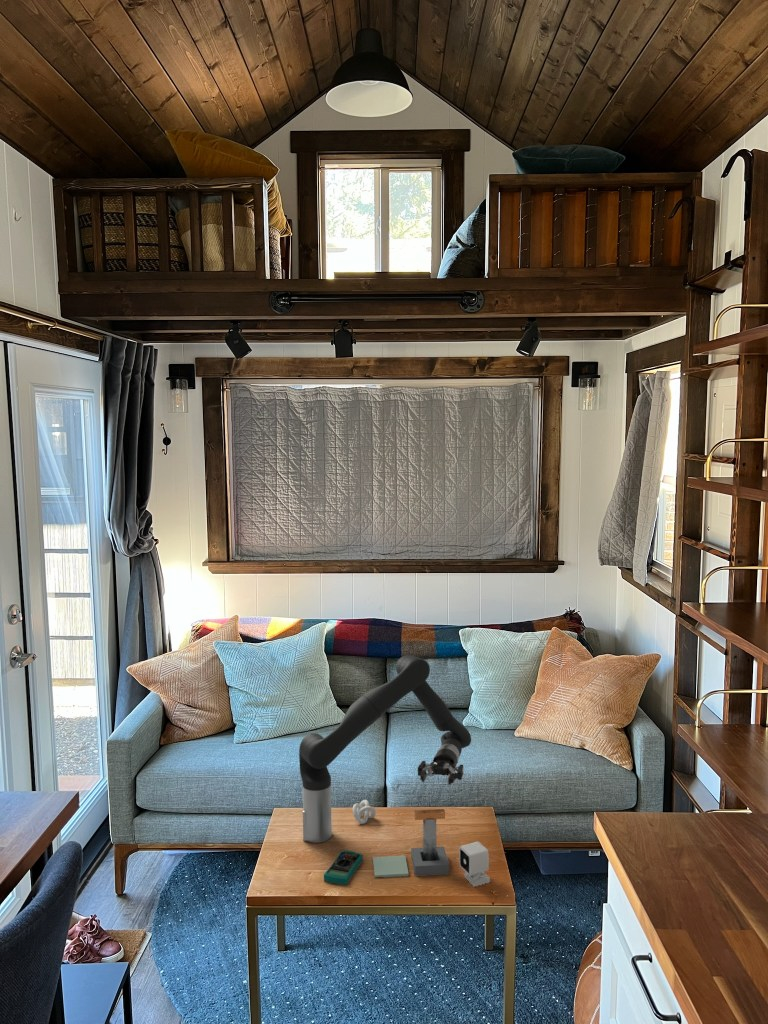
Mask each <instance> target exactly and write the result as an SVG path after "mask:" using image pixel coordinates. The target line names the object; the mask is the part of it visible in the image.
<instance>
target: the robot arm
mask: <svg viewBox="0 0 768 1024" xmlns="http://www.w3.org/2000/svg"><path fill="white" fill-rule="evenodd" d="M430 667H431V666H430V664H429V662H427V661H426V660H425V659H424V658H421V657H418V656H416V655H411V654H410V655H409V654H407V655H403V656H401V657H400V658H398V660H397V662H396V665H395V669H396V674H397V675H396V676H395V677H393V678H392V679H391V680H389V681H388V682H386V683H384V684H381V685H378V686H376V687H374V688H372V689H370V690H368V691H367V692H365V693H363V694H362V696H360V697H359V698H357V700H355V701H353V702H352V704H351V705H350V706H349V708H348V709H347V711H346V712H345V714H344V716H343V718H342V720H341V721H340V723H339V724H338V726H337V727H336V728H334V730H333V731H331V732H329V734H327V735H326V736H325V737H324V736H322V735H321V734H319V733H317V732H316V733H314V732H312V733H309V734H307V735H305V736H304V737H303V738H302V740H301V741H300V744H299V747H298V748H299V751H298V758H299V760H298V762H299V773H300V775H299V776H300V778H301V780H302V781H301V782H302V783H301V784H302V837H303V838H302V841H303V842H304V841H305V842H309V843H324V842H326V841H328V840H330V839H331V838H332V835H333V833H332V832H333V827H332V826H333V825H332V824H333V823H332V776H331V774H330V772H329V769H328V766H329V765H330V764H331V763H332V762H333V761H335V759H336V758H337V757H338V756H339V755H340V754H341V753H342V752H343V751H344V750H345V749H346V747H348V746H349V745H350V744H351V743H352V742H353V741H354V740H356V739H357V737H359V736H360V735H361V734H362V733H363V732H365V730H367V729H368V728H369V727H370V726H371V725H373V724H374V723H375V722H376V721H378V720H379V719H380V718H381V717H382V716H383V715H384V714H385V713H387V711H389V710H390V709H391V708H392V707H394V705H396V704H397V703H398V702H399V701H400V700H401V699H403V698H404V697H405V696H406V695H408V694H410V692H412V694H413V695H414V696H415V697H416V698H417V700H418V702H420V704H421V705H422V707H423V708H424V709H425V712H426V713H427V715H428V717H429V718H430V719H431V721H432V723H433V724H434V726H435V728H436V729H437V730H438V731H439V732H445V733H443V734H441V737H440V743H441V745H440V747H439V748H438V750H437V751H436V753H435V755H434V757H433V759H432V762H430V763H427V761H426V760H422V761H421V762H420V764H419V765H418V767H417V776H419V778H420V781H421V782H422V783H424V782H425V781H426V779H427V778H428V777H431V778H432V777H434V776H445V777H447V778H448V779H447V782H448V783H447V784H448V785H449V786H451V785H452V784H454V782H455V781H456V779H457V780H458V781H462V779H463V775H464V764H459V765H458V763H459V759H460V756H461V754H462V750H463V749H466V747H467V748H468V746H470V745H471V743H472V735H471V733H470V731H469V730H468V728H467V727H465V726H464V725H463V724H462V723H461V722H460V721H459V720H457V718H456V717H454V715H453V714H452V712H451V711H450V709H449V708H448V706H447V704H446V703H445V702H444V700H443V699H442V698H441V696H439V695H438V693H436V692H435V690H434V689H433V688H432V687H431V686H430V684H429V683H428V681H427V679H428V678H429V675H430V671H431V668H430Z"/></svg>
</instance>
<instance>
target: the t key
mask: <svg viewBox="0 0 768 1024" xmlns="http://www.w3.org/2000/svg"><path fill="white" fill-rule="evenodd" d="M413 812H414V816H413V817H414V821H422V848H423V861H437V855H436V847H437V820H444V819H446V812H445V808H441V809H440V808H439V809H422V810H421V809H420V810H417V809H416V810H414V811H413Z"/></svg>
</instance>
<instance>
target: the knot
mask: <svg viewBox="0 0 768 1024" xmlns="http://www.w3.org/2000/svg"><path fill="white" fill-rule="evenodd" d="M352 814H353V817H354V820H356V822H357V823H358V824H361V825H364V824H366V823H367V821H368V819H374V818H375V816H376V814H377V812H376V809H375V808H374V807H373V806H370V802H369V800H367V799H363V800H361V802H360V803H357V802H356V803H354V804H353V806H352ZM362 815H363V818H361V817H362Z"/></svg>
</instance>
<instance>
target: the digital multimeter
mask: <svg viewBox="0 0 768 1024" xmlns="http://www.w3.org/2000/svg"><path fill="white" fill-rule="evenodd" d="M363 861H364V855H363V854H362V853H360V852H357V851H352V850H341V851H340V852H339V854H338V855H337V857H336V858H335V859H334V861H333V862H332V863H331V865H330V867H328V869H327V870H326V871H325V872H324V874H323V882H327V883H331V884H335V885H341V884H342V885H344V886H347V885H348V884H349V883H350V880H351V878H352V877H353V875H354V873H355V872H356V871H357V870H358V868H359V866H360V865H361V864H362V862H363ZM355 870H356V871H355ZM342 885H341V886H342Z"/></svg>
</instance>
